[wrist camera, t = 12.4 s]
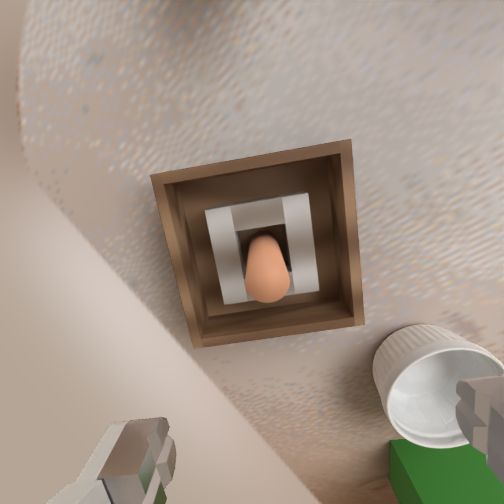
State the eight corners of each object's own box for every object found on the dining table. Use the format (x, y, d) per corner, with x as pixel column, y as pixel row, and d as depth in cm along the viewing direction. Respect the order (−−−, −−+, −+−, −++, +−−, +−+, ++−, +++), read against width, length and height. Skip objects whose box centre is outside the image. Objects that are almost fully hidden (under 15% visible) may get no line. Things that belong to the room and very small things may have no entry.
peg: (247, 233, 31) (241, 264, 19) (275, 228, 31) (286, 257, 19) (252, 259, 32) (249, 305, 20) (279, 255, 31) (292, 299, 20)
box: (170, 176, 30) (149, 174, 25) (332, 147, 29) (351, 138, 23) (204, 320, 35) (193, 348, 29) (346, 300, 34) (364, 324, 28)
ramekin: (361, 404, 38) (384, 452, 31) (363, 317, 34) (389, 351, 28) (459, 399, 37) (504, 447, 30) (471, 311, 34) (524, 343, 27)
